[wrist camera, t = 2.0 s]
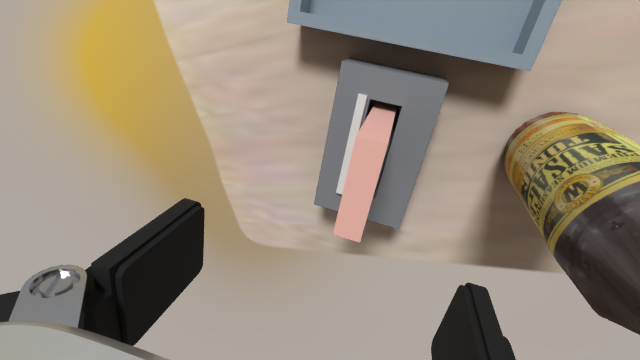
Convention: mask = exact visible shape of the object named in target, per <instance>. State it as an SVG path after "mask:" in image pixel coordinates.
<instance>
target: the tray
mask: <svg viewBox="0 0 640 360" xmlns="http://www.w3.org/2000/svg"><path fill="white" fill-rule="evenodd" d="M561 2H562V0H290V1H289V9H288V18H287V23H292V24H297V25H302V26H307V27H312V28H317V29H322V30H327V31H332V32H337V33H342V34H347V35H352V36H357V37H362V38H367V39H372V40H377V41H382V42H387V43H392V44H397V45H402V46H407V47H411V48H416V49H421V50H426V51H431V52H436V53H441V54H446V55H451V56H456V57H461V58H466V59H471V60H476V61H481V62H486V63H491V64H496V65H501V66H506V67H511V68H516V69H521V70H526V71H531V69H532V66H533V64H534V62H535V60H536V58H537V55H538V53H539V51H540V49H541V46H542V44H543V42H544V40H545V37H546V35H547V33H548V31H549V28H550V26H551V24H552V22H553V19H554V17H555V15H556V13H557V11H558V8H559V6H560V4H561Z"/></svg>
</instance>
